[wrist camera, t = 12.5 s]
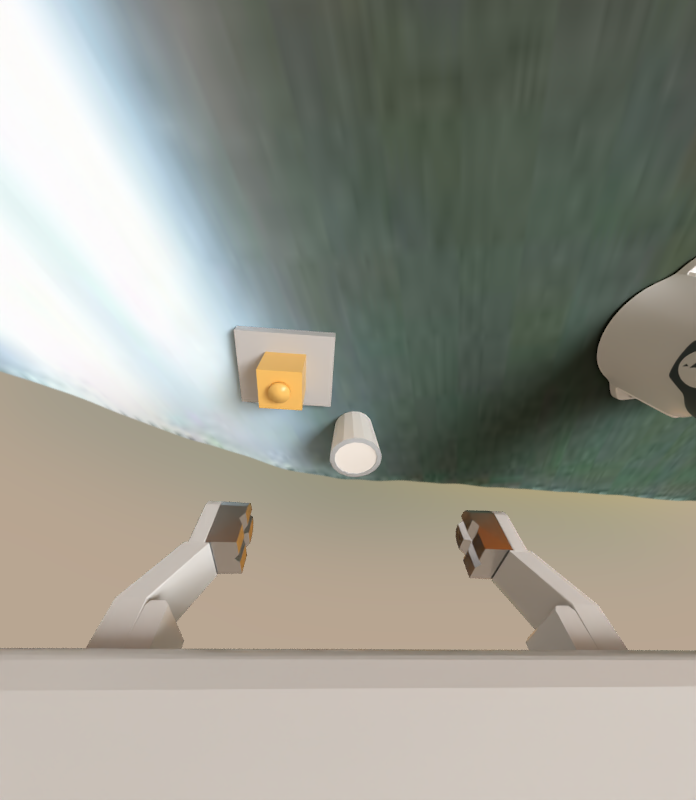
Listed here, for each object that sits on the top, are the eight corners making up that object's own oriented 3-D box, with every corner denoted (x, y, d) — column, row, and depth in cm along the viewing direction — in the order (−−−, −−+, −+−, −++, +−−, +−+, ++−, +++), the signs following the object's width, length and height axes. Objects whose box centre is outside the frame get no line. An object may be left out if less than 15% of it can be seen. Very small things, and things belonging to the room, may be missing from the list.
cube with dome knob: (306, 354, 38) (301, 375, 33) (305, 389, 40) (301, 413, 35) (265, 351, 37) (254, 372, 32) (267, 387, 40) (257, 411, 35)
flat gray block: (335, 332, 38) (334, 348, 34) (330, 400, 43) (329, 421, 39) (237, 325, 37) (224, 340, 33) (244, 395, 42) (234, 416, 38)
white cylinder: (322, 419, 45) (319, 450, 39) (364, 400, 43) (368, 430, 37) (343, 450, 48) (344, 484, 42) (383, 434, 47) (390, 466, 41)
